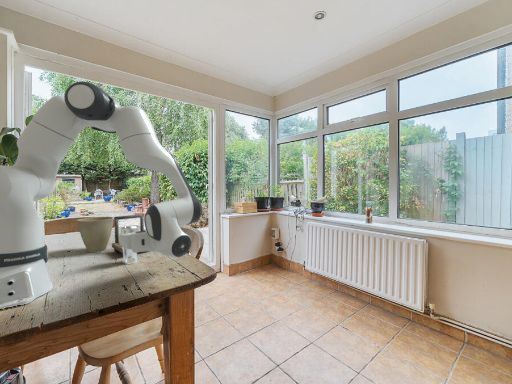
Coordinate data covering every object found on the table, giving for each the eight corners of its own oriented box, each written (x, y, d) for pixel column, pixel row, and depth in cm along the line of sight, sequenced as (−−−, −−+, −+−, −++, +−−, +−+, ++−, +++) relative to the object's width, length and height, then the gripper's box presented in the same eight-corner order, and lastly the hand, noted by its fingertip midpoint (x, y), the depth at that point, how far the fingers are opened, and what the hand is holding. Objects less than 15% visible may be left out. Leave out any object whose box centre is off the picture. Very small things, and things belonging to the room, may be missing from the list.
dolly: (121, 258, 103) (120, 220, 102) (112, 252, 112) (111, 217, 111) (156, 250, 115) (156, 216, 114) (145, 245, 124) (145, 213, 123)
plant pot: (121, 246, 121) (120, 216, 120) (97, 255, 107) (96, 221, 106) (96, 245, 124) (96, 216, 123) (70, 253, 109) (69, 220, 108)
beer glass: (142, 260, 100) (142, 226, 99) (126, 265, 94) (125, 229, 93) (133, 258, 104) (133, 225, 103) (117, 262, 98) (117, 227, 97)
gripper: (184, 224, 89) (167, 220, 98) (127, 234, 73) (113, 229, 83) (185, 240, 89) (167, 235, 98) (128, 254, 74) (114, 246, 83)
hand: (142, 232), depth 90 cm, fingers open, 8 cm apart
